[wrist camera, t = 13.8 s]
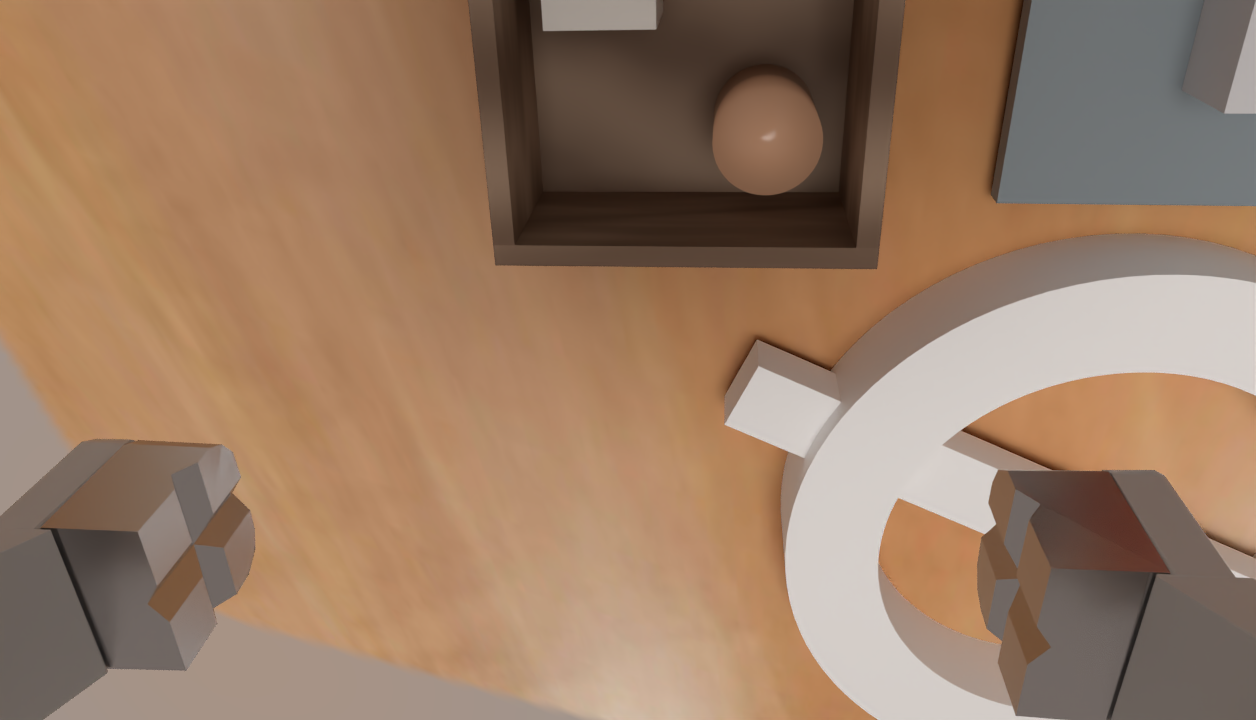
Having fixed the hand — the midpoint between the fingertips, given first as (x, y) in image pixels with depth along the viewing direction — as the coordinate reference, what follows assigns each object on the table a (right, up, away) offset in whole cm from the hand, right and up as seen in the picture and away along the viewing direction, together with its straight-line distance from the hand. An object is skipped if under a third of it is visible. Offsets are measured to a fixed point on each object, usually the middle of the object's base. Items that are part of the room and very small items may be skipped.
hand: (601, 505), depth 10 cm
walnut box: (+3, +14, +27) cm, 31 cm away
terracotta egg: (+6, +11, +28) cm, 31 cm away
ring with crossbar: (+22, -5, +37) cm, 43 cm away
